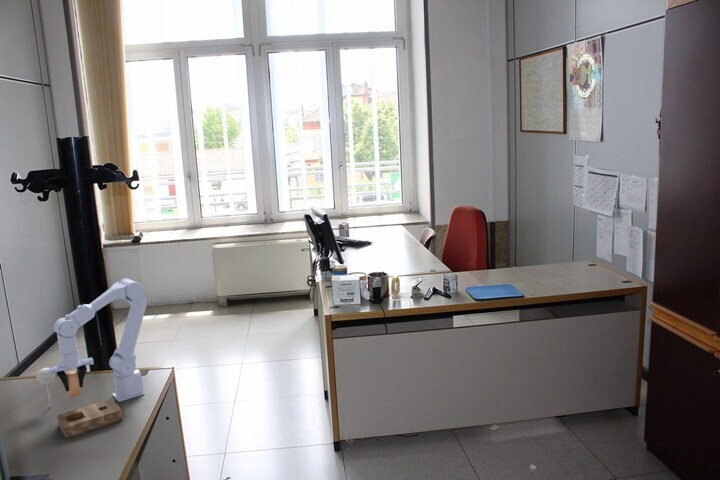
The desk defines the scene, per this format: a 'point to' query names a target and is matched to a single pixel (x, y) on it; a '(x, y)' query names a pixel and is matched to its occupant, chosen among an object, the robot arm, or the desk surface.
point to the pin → (73, 384)
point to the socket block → (89, 418)
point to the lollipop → (45, 379)
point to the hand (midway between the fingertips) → (74, 388)
